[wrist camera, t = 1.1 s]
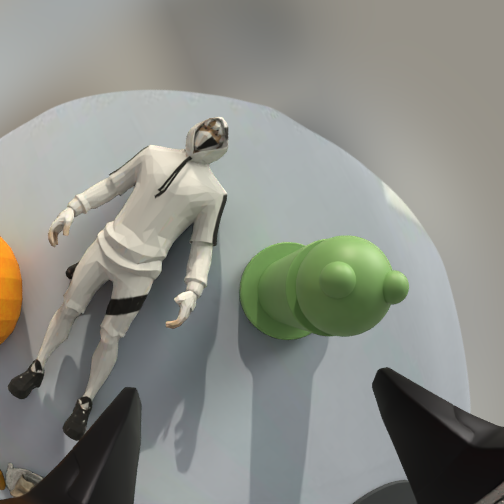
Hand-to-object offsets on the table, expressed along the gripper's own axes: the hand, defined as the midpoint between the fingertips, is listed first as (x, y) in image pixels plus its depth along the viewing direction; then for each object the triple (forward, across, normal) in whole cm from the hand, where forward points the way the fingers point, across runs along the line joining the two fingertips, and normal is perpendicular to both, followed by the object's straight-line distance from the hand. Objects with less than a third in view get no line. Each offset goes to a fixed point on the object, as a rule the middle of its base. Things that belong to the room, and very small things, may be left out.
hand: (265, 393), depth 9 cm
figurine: (+16, +9, +3) cm, 19 cm away
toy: (+15, -5, +4) cm, 17 cm away
